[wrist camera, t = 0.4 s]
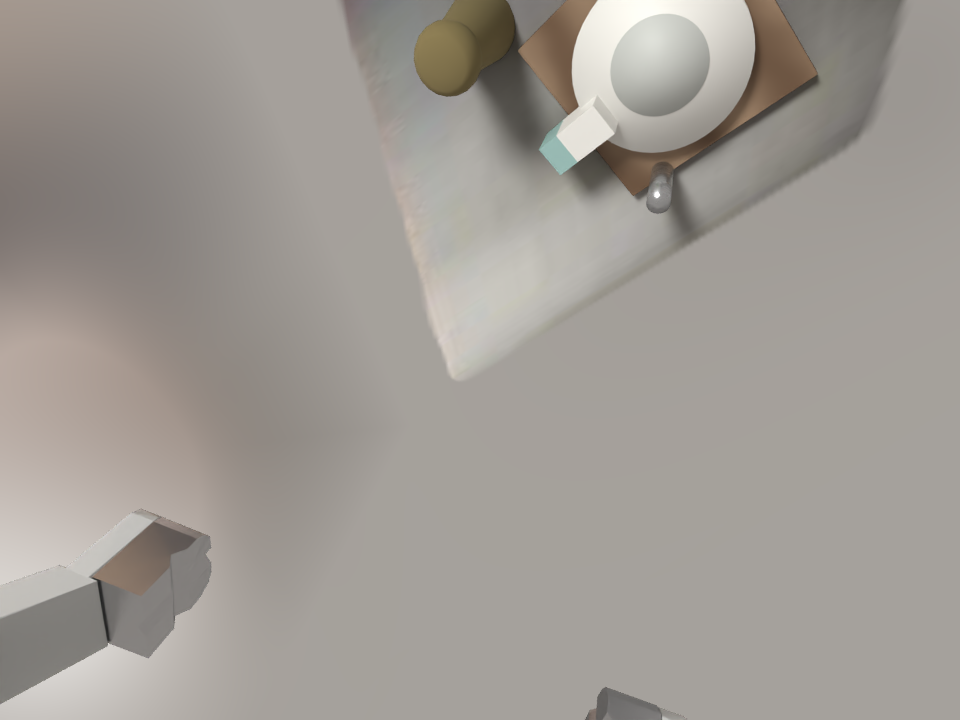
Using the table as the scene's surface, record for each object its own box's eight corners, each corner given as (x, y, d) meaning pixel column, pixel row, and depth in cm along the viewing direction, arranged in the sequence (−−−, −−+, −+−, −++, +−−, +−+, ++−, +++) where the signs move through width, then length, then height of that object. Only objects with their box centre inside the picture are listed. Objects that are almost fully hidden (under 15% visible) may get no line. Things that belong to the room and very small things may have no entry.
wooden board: (698, -133, 38) (698, -132, 38) (816, 70, 44) (818, 74, 44) (520, 47, 49) (517, 51, 48) (634, 191, 55) (632, 196, 54)
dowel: (666, 152, 52) (662, 187, 47) (678, 168, 53) (675, 205, 48) (647, 165, 53) (641, 200, 48) (659, 181, 54) (655, 217, 49)
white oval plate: (689, -92, 39) (688, -85, 36) (789, 73, 44) (793, 89, 41) (508, 85, 51) (497, 100, 48) (602, 200, 55) (597, 219, 53)
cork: (515, -14, 46) (478, 21, 39) (514, 66, 50) (480, 111, 43) (446, -16, 48) (397, 17, 40) (450, 61, 52) (407, 105, 44)
